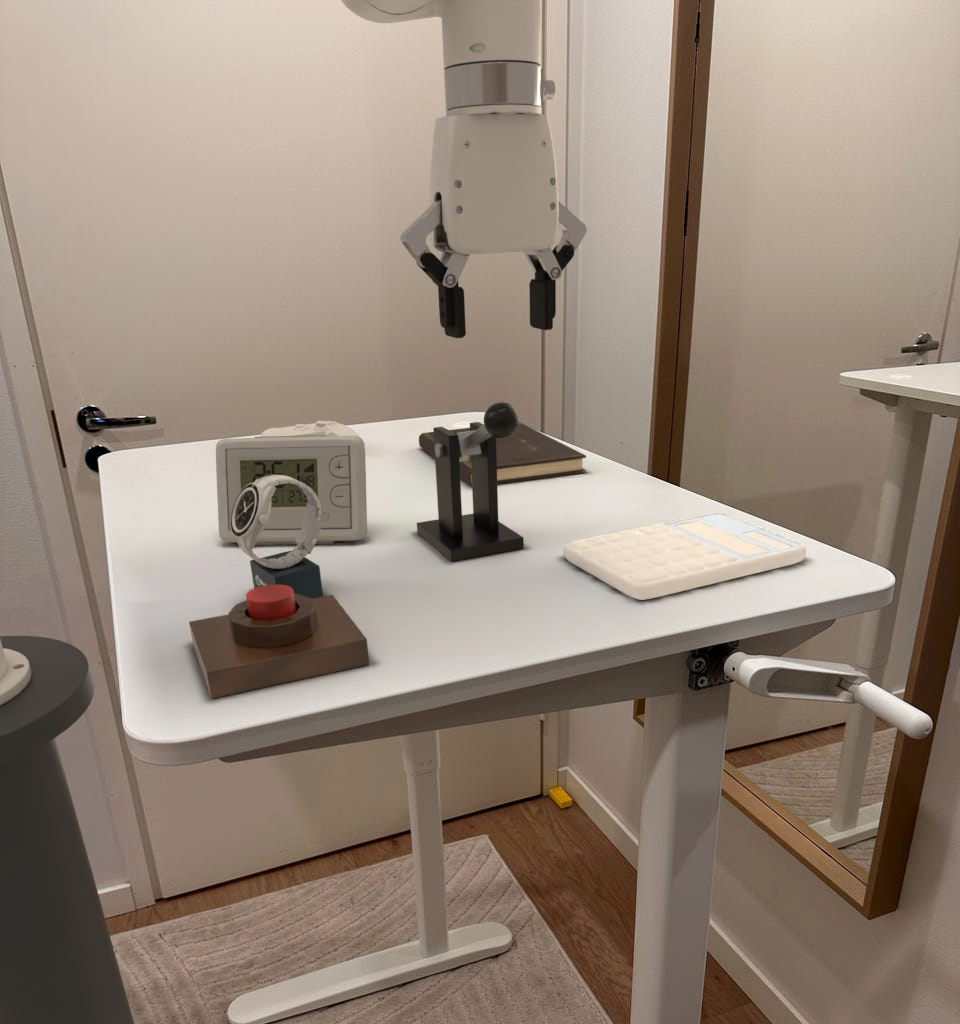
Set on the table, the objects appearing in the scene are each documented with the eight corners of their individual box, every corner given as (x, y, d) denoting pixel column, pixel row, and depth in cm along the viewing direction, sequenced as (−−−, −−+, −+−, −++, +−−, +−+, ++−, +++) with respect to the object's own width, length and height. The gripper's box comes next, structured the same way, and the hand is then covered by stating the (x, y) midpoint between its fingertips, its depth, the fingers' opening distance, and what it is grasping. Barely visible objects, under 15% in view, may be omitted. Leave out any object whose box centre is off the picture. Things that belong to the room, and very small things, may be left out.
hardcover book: (520, 437, 138) (519, 422, 137) (585, 472, 118) (586, 455, 117) (419, 449, 133) (418, 433, 132) (469, 488, 113) (469, 469, 112)
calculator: (558, 558, 89) (558, 540, 89) (719, 524, 97) (720, 507, 96) (637, 604, 79) (637, 584, 78) (810, 561, 86) (813, 542, 85)
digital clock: (212, 546, 97) (195, 447, 92) (251, 520, 104) (238, 427, 100) (353, 554, 93) (343, 451, 88) (383, 527, 100) (375, 431, 96)
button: (254, 626, 68) (250, 605, 68) (245, 609, 71) (242, 589, 71) (300, 617, 70) (298, 596, 69) (290, 601, 73) (287, 581, 72)
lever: (527, 431, 81) (520, 395, 81) (495, 435, 80) (487, 399, 80) (477, 463, 93) (471, 432, 93) (449, 467, 92) (442, 436, 92)
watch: (234, 597, 83) (215, 480, 79) (313, 576, 87) (300, 464, 83) (259, 616, 79) (240, 494, 74) (340, 593, 83) (328, 476, 79)
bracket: (523, 548, 93) (522, 433, 87) (451, 561, 90) (445, 443, 85) (484, 521, 101) (481, 415, 96) (417, 533, 98) (409, 424, 93)
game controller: (265, 448, 123) (247, 419, 130) (268, 477, 126) (250, 448, 133) (365, 434, 128) (343, 408, 136) (366, 462, 131) (344, 435, 138)
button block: (211, 699, 66) (202, 649, 64) (193, 645, 74) (184, 601, 72) (369, 664, 70) (364, 617, 68) (335, 617, 78) (330, 574, 77)
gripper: (568, 102, 77) (567, 320, 84) (372, 101, 71) (389, 336, 78) (614, 91, 71) (608, 328, 78) (403, 89, 65) (419, 346, 72)
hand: (498, 331), depth 78 cm, fingers open, 7 cm apart
